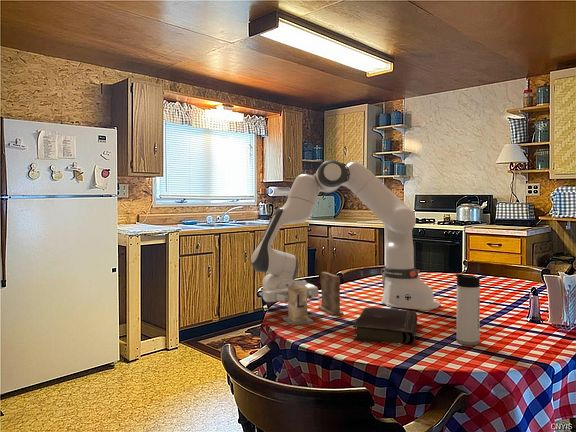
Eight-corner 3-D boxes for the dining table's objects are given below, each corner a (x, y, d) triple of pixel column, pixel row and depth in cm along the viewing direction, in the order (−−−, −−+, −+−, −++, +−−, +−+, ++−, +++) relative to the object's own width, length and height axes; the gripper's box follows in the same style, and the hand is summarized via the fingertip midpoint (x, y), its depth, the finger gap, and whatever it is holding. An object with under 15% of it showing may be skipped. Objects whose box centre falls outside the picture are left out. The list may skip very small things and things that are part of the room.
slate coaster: (303, 317, 164) (303, 314, 164) (313, 322, 156) (313, 320, 156) (282, 319, 161) (282, 317, 161) (291, 325, 153) (291, 322, 153)
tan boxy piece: (301, 316, 162) (301, 285, 161) (307, 319, 157) (307, 287, 156) (288, 317, 160) (288, 286, 159) (294, 321, 155) (293, 289, 155)
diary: (417, 324, 155) (417, 310, 155) (414, 348, 131) (415, 331, 131) (362, 320, 161) (362, 306, 160) (349, 341, 137) (350, 325, 137)
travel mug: (451, 339, 136) (451, 272, 136) (473, 338, 137) (473, 272, 136) (461, 346, 130) (461, 276, 129) (483, 345, 131) (484, 275, 130)
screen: (318, 308, 176) (318, 272, 175) (328, 307, 177) (328, 271, 177) (332, 315, 165) (332, 277, 164) (343, 314, 166) (343, 276, 166)
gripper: (257, 284, 166) (269, 291, 153) (308, 279, 174) (324, 286, 161) (257, 301, 167) (270, 309, 154) (309, 296, 174) (324, 304, 161)
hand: (298, 297), depth 157 cm, fingers open, 8 cm apart
